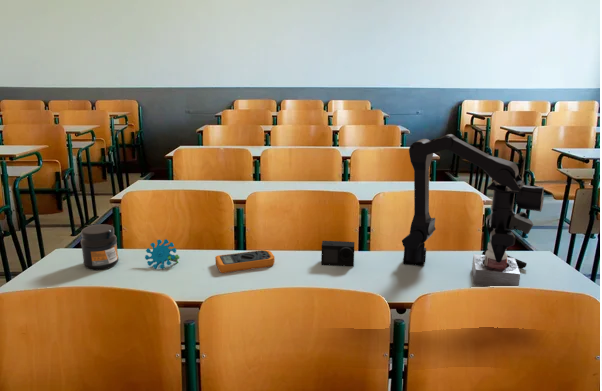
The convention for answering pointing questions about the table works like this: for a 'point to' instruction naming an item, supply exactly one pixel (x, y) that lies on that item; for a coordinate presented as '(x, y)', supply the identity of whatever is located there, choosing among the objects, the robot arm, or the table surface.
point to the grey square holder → (494, 273)
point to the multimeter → (244, 261)
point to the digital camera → (337, 253)
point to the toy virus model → (161, 254)
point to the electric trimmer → (519, 263)
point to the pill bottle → (491, 260)
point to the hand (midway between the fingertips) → (496, 256)
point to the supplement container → (99, 247)
